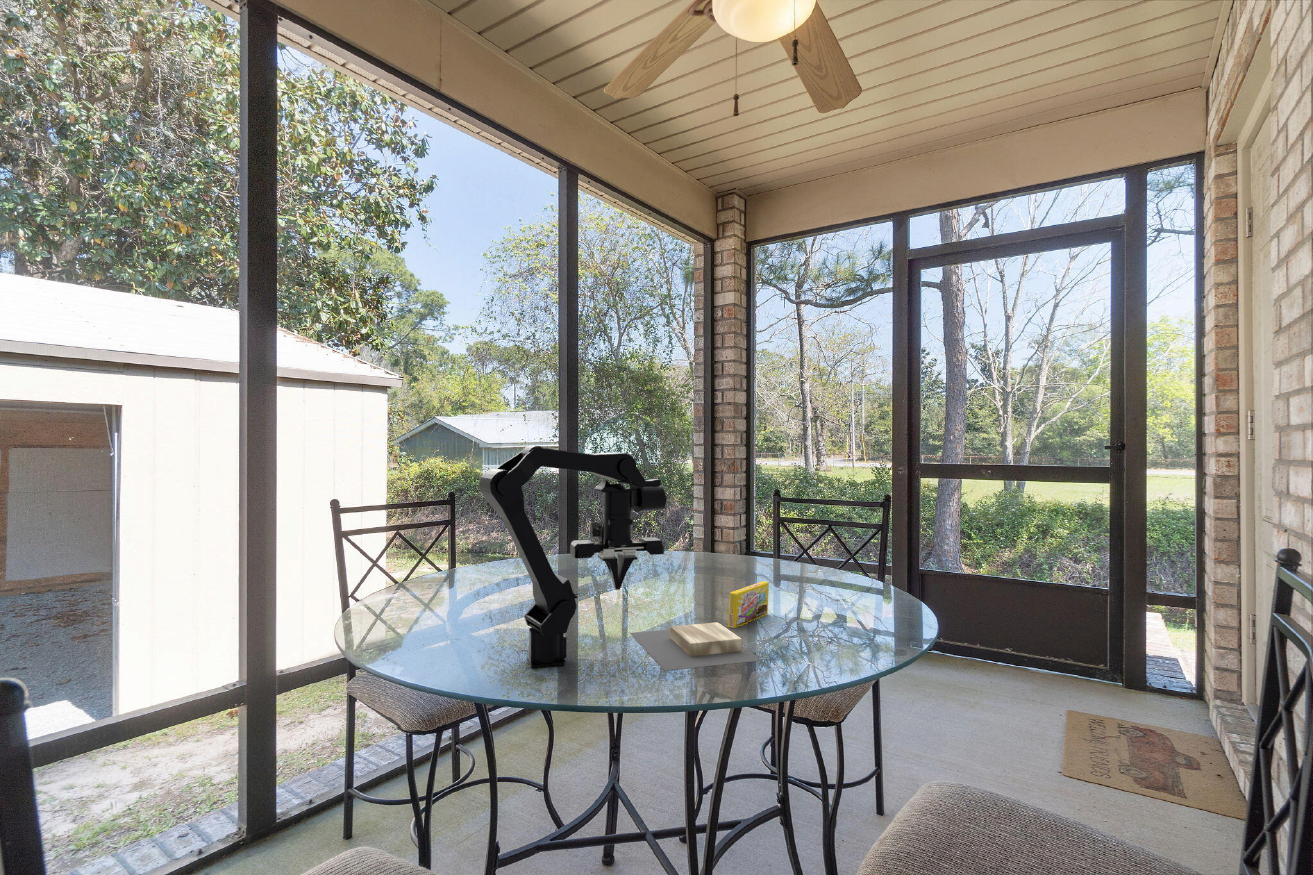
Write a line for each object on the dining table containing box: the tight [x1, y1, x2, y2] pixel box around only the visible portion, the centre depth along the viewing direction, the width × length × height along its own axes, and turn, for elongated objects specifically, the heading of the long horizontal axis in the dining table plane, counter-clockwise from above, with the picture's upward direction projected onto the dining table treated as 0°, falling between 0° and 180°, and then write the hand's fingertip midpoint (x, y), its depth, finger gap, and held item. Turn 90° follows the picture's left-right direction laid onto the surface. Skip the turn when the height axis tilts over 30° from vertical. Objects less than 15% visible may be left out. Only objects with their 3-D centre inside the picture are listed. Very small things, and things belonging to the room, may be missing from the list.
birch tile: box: [669, 621, 742, 656], centre depth 133 cm, size 2×12×11 cm
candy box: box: [727, 580, 770, 629], centre depth 152 cm, size 16×2×8 cm, turn 143°
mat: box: [629, 629, 762, 672], centre depth 132 cm, size 20×24×1 cm
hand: (617, 589), depth 131 cm, fingers closed
